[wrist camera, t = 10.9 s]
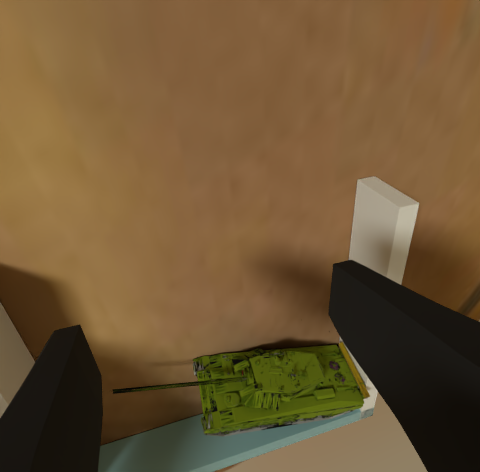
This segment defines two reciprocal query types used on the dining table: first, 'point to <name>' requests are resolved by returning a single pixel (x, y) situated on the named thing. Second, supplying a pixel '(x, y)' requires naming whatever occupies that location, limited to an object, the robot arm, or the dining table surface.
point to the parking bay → (191, 430)
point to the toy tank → (273, 388)
